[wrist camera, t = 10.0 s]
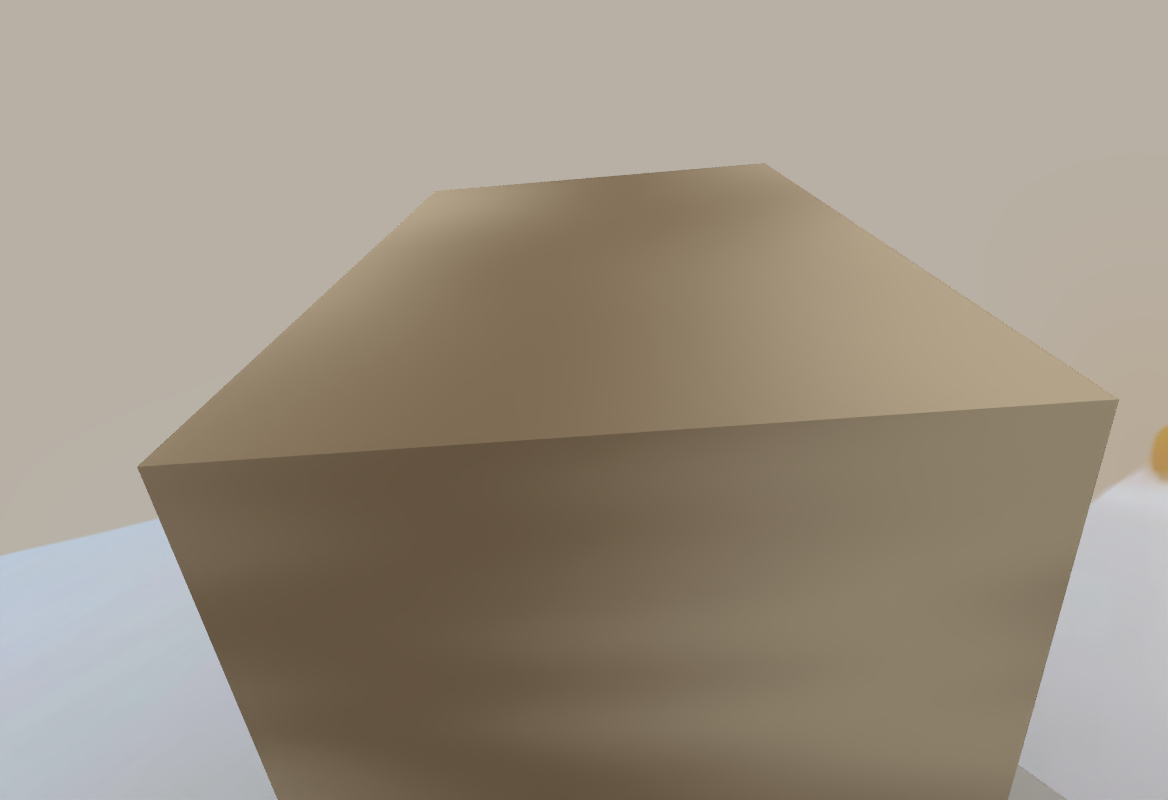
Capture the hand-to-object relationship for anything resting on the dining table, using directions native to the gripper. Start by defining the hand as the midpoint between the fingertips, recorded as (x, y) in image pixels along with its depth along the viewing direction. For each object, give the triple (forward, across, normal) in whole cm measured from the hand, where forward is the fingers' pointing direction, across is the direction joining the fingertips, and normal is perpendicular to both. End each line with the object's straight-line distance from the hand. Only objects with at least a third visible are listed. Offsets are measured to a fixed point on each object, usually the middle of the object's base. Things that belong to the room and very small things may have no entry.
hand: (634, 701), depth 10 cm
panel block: (0, 0, +8) cm, 8 cm away
